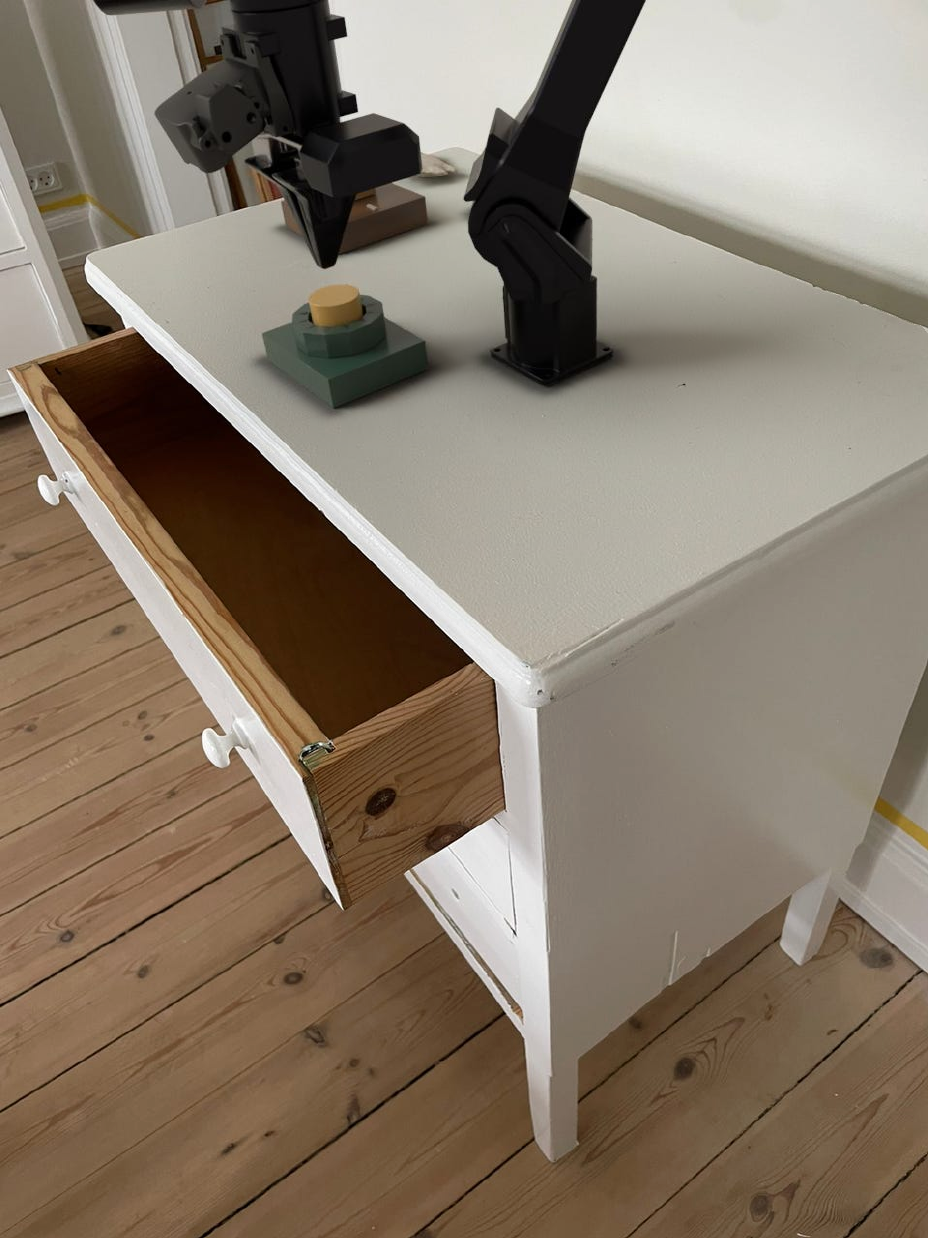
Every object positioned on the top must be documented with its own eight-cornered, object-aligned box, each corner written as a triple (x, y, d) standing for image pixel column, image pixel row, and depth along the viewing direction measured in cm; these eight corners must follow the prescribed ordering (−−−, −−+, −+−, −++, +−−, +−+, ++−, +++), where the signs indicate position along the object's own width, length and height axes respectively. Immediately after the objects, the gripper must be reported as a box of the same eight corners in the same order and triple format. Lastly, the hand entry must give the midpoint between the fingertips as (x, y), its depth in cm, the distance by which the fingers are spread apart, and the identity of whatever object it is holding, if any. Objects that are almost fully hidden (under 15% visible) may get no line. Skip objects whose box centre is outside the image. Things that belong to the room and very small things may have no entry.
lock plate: (428, 223, 92) (425, 194, 90) (337, 254, 88) (332, 225, 86) (373, 199, 98) (369, 171, 96) (286, 227, 94) (280, 199, 92)
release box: (428, 368, 70) (422, 316, 67) (333, 408, 67) (323, 355, 64) (357, 325, 76) (349, 276, 74) (267, 360, 73) (255, 309, 71)
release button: (372, 317, 69) (368, 294, 68) (328, 334, 67) (324, 310, 66) (346, 302, 71) (342, 279, 70) (304, 318, 70) (299, 295, 69)
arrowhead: (457, 190, 100) (448, 162, 108) (460, 171, 99) (450, 144, 106) (391, 182, 99) (387, 154, 106) (393, 162, 98) (388, 135, 105)
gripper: (91, 12, 59) (165, 264, 70) (221, 53, 47) (287, 349, 58) (254, -22, 64) (301, 220, 74) (411, 8, 52) (440, 291, 62)
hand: (326, 266), depth 67 cm, fingers closed
